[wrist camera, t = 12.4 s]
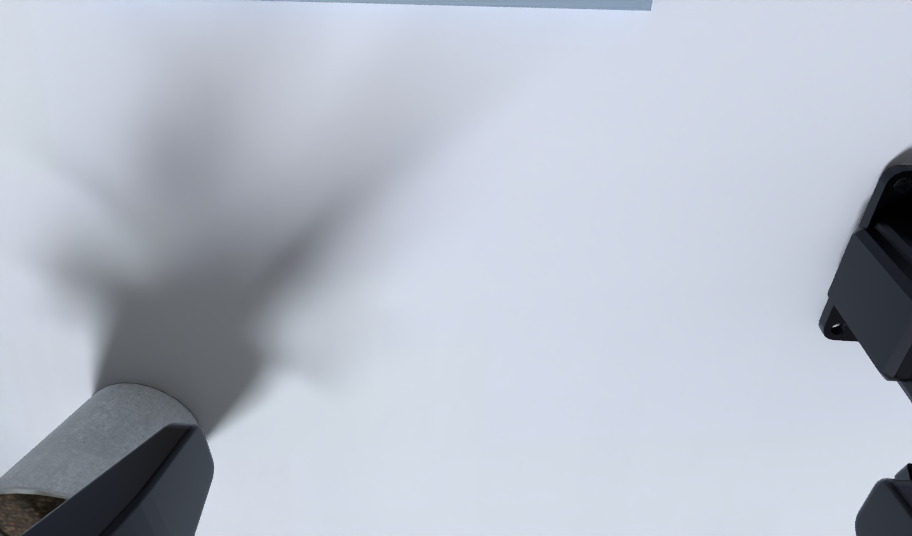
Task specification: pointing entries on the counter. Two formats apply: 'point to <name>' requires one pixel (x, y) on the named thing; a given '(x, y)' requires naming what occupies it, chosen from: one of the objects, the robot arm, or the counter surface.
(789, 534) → the counter surface
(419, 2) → the board
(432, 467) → the counter surface
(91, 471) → the house plant
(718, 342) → the counter surface
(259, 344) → the counter surface
